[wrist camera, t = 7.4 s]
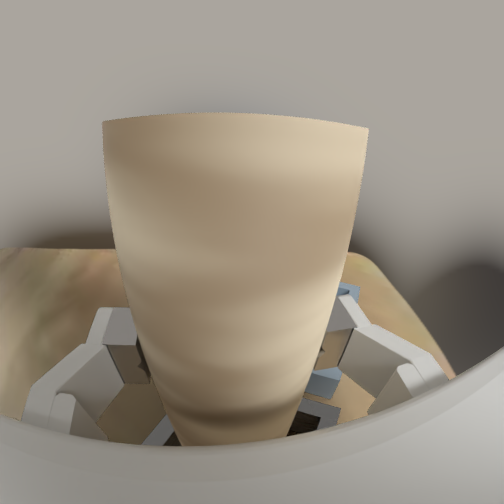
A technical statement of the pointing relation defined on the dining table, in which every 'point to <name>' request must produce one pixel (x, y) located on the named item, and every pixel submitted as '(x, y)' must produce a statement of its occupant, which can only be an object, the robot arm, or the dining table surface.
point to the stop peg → (231, 258)
